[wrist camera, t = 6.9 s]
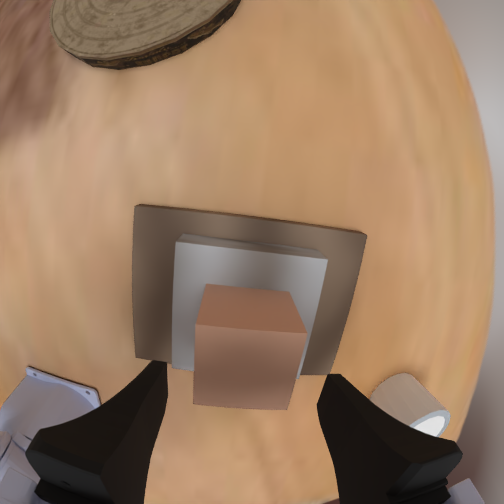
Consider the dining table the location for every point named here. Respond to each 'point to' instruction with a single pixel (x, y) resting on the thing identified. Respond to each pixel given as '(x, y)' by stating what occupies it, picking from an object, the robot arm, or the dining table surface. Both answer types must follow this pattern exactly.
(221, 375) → the terracotta block
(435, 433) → the grey cup
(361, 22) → the dining table surface
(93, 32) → the wood slice coaster
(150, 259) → the walnut base
